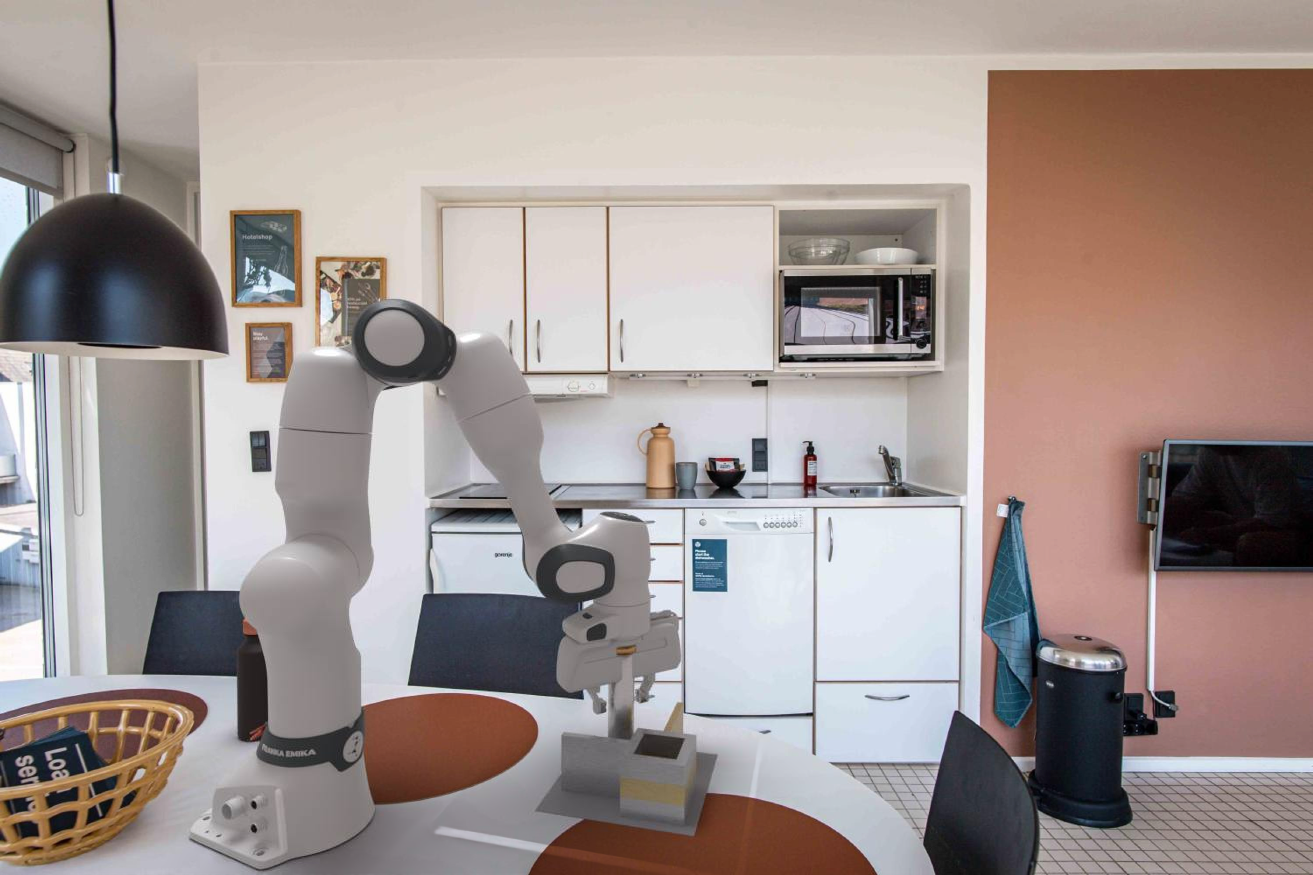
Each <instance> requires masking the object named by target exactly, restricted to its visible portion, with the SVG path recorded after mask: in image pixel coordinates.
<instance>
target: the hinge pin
mask: <svg viewBox="0 0 1313 875" xmlns="http://www.w3.org/2000/svg"><path fill="white" fill-rule="evenodd" d="M635 652H636V645H631V646H626V647H621V648H616V655H619V656H622V679H621V681H619V682H615V683H611V684H607V685H608V690H607V691H608V692H607V693H608V694H607V696H608V697H607V698H608V699H607V700H608V702H607V737H608V738H616V739H624V740H631V738H632V737H633V735H634V733H635V678H633V677H632V654H633V653H635Z"/></svg>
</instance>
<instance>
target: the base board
mask: <svg viewBox="0 0 1313 875" xmlns="http://www.w3.org/2000/svg"><path fill="white" fill-rule="evenodd" d="M717 758H718V754H717V753H716V754H715V753H707V752H700V751H696V791H695V794H694V797H693V801H692V804H691V807H690V810H689V813H688V816H687V820H686V823H685V826H677V825H671V824H665V823H658V822H652V821H646V820H639V819H633V818H626V817H620V799H618V798H611V797H604V796H598V795H591V794H584V793H578V792H571V791H564V790H561V774H560V775H559V776H558V778H557V779H556V780H555V782H554V783H553V785H552V786H551V787H550V789H549V790H548V792H546V795H545V796H544V797H543V799H542V800H541V802H539V804H538V806H537V807H536V809H534V811H535V812H539V813H543V814H544V813H545V814H551V815H552V814H553V815H557V816H563V817H564V816H565V817H568V818H569V817H570V818H577V819H582V820H589V821H595V822H601V823H606V824H607V823H608V824H614V825H620V826H626V827H627V826H628V827H632V828H640V829H645V830H646V829H647V830H653V831H657V832H663V833H664V832H665V833H669V834H678V835H683V836H687V837H688V836H689V837H695V834H696V831H697V828H698V825H699V821H700V817H701V813H702V812H703V811H702V809H703V807H704V803H705V801H706V797H707V792H708V790H709V786H710V783H711V782H710V781H711V780H712V779H711V778H712V775H713V771H714V768H715V764H716V762H717Z"/></svg>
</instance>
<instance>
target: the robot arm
mask: <svg viewBox="0 0 1313 875" xmlns="http://www.w3.org/2000/svg"><path fill="white" fill-rule="evenodd" d="M350 338H351V340H350V341H351V342H349V343H348V344H346V345H343V346H334V345H333V346H332V345H320V346H315V347H311V348H308V349H305V350H304V351H301V352H300V353H299V354H297V356H295V358H294V359H293V361H292V364H291V367H290V371H289V373H288V377H287V380H286V385H285V387H284V393H283V397H282V400H281V401H282V403H281V408H280V409H281V410H280V414H279V423H278V424H279V425H278V437H277V438H278V439H277V449H276V451H277V452H276V462H275V465H276V466H275V476H274V487H275V492H276V493H277V495H278V497H279V499H280V501H281V502H280V503H281V506H282V510H283V515H284V521H285V524H284V525H285V532H286V533H285V541H284V544H281V545H280V546H277V547H275V548H273V549H271V550H270V551H268V552H267V553H266V554H264V555H263V556H262V557H260V559H259V560H258V561H257V563H255V565H254V566H253V567H252V568H251V569H250V571H249V572H248V573H247V574H246V576H245V578H244V579H243V581H242V582H241V585H240V589H239V595H238V600H239V601H238V602H239V607H240V611H241V613H242V615H243V617H244V619H246V620H247V621H248V623H249V624H250V625H251V626H253V627H254V628H255V629H256V630H257V633H258V636H259V640H260V643H261V646H262V650H263V654H264V657H265V662H266V668H267V679H268V721H267V722H265V725H263V726H261V727H260V728H258V729H256V730H254V731H252V732H251V733H250V734H253V733H255V732H257V731H258V733H256V734H255V735H254V736H253V737H252V738H251V739H250V740H251V741H250V742H253V741H252V740H254V739H256V738H257V737H259V736H261V735H262V737H261V740H259V743H258V745H257V748H256V750H255V751H254V752H253V753H251V754H249V755H248V756H247V757H246V758H245V759H243V760H242V761H241V762H239V764H237V765H236V766H235V767H233V768H232V769H231V770H230V771H228V772H227V773H226V774H225V775H223V777H222V778H221V779H220V781H219V782H218V784H217V785H216V788H215V790H214V793H213V799H212V806H211V807H210V808H209V809H208V810H206V811H205V812H204V813H203V814H202V815H200V817H198V819H197V820H196V821H195V822H194V823H193V824H192V826H191V828H190V830H189V838H190V839H191V840H193V841H195V842H197V843H199V844H201V845H204V846H206V847H208V848H210V849H212V850H214V851H217V852H220V853H222V854H224V855H225V856H228V857H231V858H233V859H234V860H237V861H239V862H241V863H244V864H245V865H247V866H250V867H253V868H254V869H258V870H265V869H269V868H271V867H274V866H277V865H279V864H282V863H284V862H286V861H289V860H291V859H296V858H301V857H304V856H309V855H310V856H311V855H313V854H317V853H321V852H323V851H327V850H329V849H332V848H334V847H336V846H339V845H341V844H343V843H345V842H347V841H348V840H350V839H351V838H353V837H355V836H356V835H357V834H359V833H360V832H361V831H362V830H364V829H365V828H366V827H367V826H368V824H369V823H370V822H371V820H372V819H373V817H374V815H375V811H376V806H375V803H374V800H373V796H372V794H371V790H370V786H369V781H368V776H367V771H366V763H365V762H366V761H365V757H364V746H365V740H366V717H365V710H364V707H362V655H361V652H360V650H359V649H358V648H357V645H356V643H355V639H354V635H353V630H352V626H351V620H350V607H351V606H350V605H351V603H352V602H351V601H352V598H353V597H354V596H356V595H357V594H358V593H359V592H361V590H362V589H363V588H364V586H365V585H366V584H367V582H368V580H369V578H370V576H371V573H372V571H373V567H374V566H373V565H374V560H375V554H374V549H373V546H372V531H371V529H372V527H371V516H370V506H369V478H370V475H369V474H370V463H371V450H372V440H373V439H372V438H373V437H372V436H373V434H372V433H373V427H374V426H373V423H374V412H375V406H376V402H377V399H378V397H379V395H380V393H381V392H382V391H386V390H387V391H388V390H392V389H397V388H403V387H409V386H410V387H411V386H415V385H418V384H420V383H429V384H432V385H434V386H435V387H437V388H438V389H439V390H440V391H441V392H442V393H443V395H444V396H445V398H446V400H447V402H448V403H449V405H450V408H451V410H452V412H453V414H454V417H455V419H456V422H457V423H458V426H459V428H460V430H461V432H462V434H463V436H464V438H465V440H466V442H467V443H468V445H469V447H470V448H471V450H472V451H473V453H474V454H475V456H476V458H478V460H479V461H480V463H481V464H482V466H484V468H485V469H487V471H488V472H489V473H490V474H492V476H493V478H495V479H496V481H497V482H498V483H499V485H500V487H501V488H502V490H503V492H504V495H505V497H506V499H507V502H508V503H509V506H510V508H511V511H512V513H513V515H514V517H515V520H516V523H517V524H518V527H519V530H520V534H521V537H522V550H521V551H522V552H521V561H522V567H523V568H524V569H523V570H524V572H525V573H526V576H528V578H529V579H530V580H531V581H532V582H533V583H534V585H535V587H536V588H537V590H538V591H539V593H541V595H542V597H544V598H545V599H546V600H547V601H549V602H551V603H553V604H556V605H560V606H573V605H576V604H581V603H582V604H583V603H585V602H589V601H592V603H591V604H590V605H588V606H586V607H584V608H583V609H581V610H579V611H577V612H575V613H573V614H571V615H568V616H567V617H565V618H564V619H563V621H562V631H563V632H564V633H565V634H566V635H565V636H563V637H562V639H561V640H560V643H559V646H558V650H557V659H556V660H557V661H556V681H557V683H558V685H560V686H559V687H561V688H562V689H563V690H564V691H566V692H568V693H569V694H570V693H575V692H579V691H586V692H587V694H588V695H589V697H590V698H591V700H592V711H593V712H594V714H595V715H601V714H604V713H607V712H608V708H607V707H608V702H607V700H605V699H604V698H603V697H599V695H598V694H600V692H601V687H602V686H606V685H608V684H611V683H615V682H619V681H621V679H622V656H619V655H616V648H621V647H626V646H631V645H636V652H635V653H633V654H632V677H633V678H634V679H636V678H643V679H642V681H641V684H640V686H639V687H638V688H636V689H635V688H634V700H635V701H636V702H637V703H638V704H639V705H641V704H644V703H648V702H649V699H650V698H649V697H650V694H649V693H650V691H651V690H652V687H653V686H654V683H655V681H656V674H659V673H662V672H667V671H671V670H676V669H677V668H679V666H680V664H681V662H682V652H681V651H682V648H681V639H680V634H679V629H680V619H679V616H678V615H677V613H675V612H673V611H672V610H670V609H664V610H661V611H651V606H652V605H651V602H652V601H651V600H652V599H651V598H652V597H651V592H650V589H649V579H650V574H651V571H652V570H651V569H652V565H651V563H652V561H651V560H652V558H651V557H652V556H651V542H650V534H649V529H648V525H647V523H645V522H644V521H643V519H641V518H639V517H638V516H636V515H633V514H628V513H623V512H619V511H603V512H600V513H598V515H597V516H596V517H595V518H593V519H592V520H591V521H589V522H588V523H586V524H585V525H583V526H581V527H579V528H578V529H576V530H571V529H570V528H569V527H568V526H567V525H566V524H564V522H563V521H562V520H561V518H560V517H559V515H558V513H557V510H556V508H555V505H554V503H553V500H552V497H551V496H550V493H549V490H548V488H547V486H546V483H545V481H544V478H543V475H542V471H541V470H542V469H541V462H540V461H541V460H540V459H541V452H542V449H543V448H542V447H543V445H544V441H545V440H544V439H545V435H544V430H543V425H542V421H541V417H540V413H539V410H538V407H537V404H536V401H535V399H534V396H533V394H532V393H531V392H532V391H531V389H530V387H529V385H528V383H527V380H526V378H525V377H524V375H523V373H522V370H520V367H519V365H518V364H517V361H516V360H515V359H514V357H513V355H512V353H511V352H510V351H509V349H508V348H507V346H506V345H505V343H504V342H503V340H502V339H501V338H500V337H499V336H498V335H496V334H495V333H493V332H490V331H487V330H470V331H466V332H462V333H460V334H455V332H454V330H452V329H451V328H450V327H449V326H447V325H446V324H444V323H443V322H442V321H440V320H439V319H438V318H437V317H436V316H435V315H434V314H432V313H431V312H430V311H428V310H426V308H424V307H423V306H421V305H419V304H417V303H415V302H413V301H410V300H406V299H402V298H401V299H400V298H388V299H382V300H378V301H376V302H374V303H372V304H370V305H368V306H367V307H366V308H364V309H363V311H361V312H360V314H359V315H358V316H357V318H356V320H355V321H354V324H353V327H352V329H351V337H350Z"/></svg>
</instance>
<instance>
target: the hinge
mask: <svg viewBox="0 0 1313 875" xmlns="http://www.w3.org/2000/svg"><path fill="white" fill-rule="evenodd" d="M560 737H561V738H560V740H561V743H560V745H561V749H560V751H561V755H560V756H561V757H560V758H561V761H560V762H561V764H560V765H561V766H560V772H561V773H560V775H561V790H564V791H571V792H578V793H584V794H591V795H598V796H604V797H611V798H618V799H620V817H626V818H633V819H639V820H646V821H652V822H658V823H665V824H671V825H677V826H685V823H686V820H687V816H688V813H689V810H690V807H691V804H692V801H693V797H694V794H695V791H696V752H697V734H691V733H684V702H681V701H679V702H678V701H677V702H676V703H675V706H674V708H673V710H672V712H671V714H670V716H669V718H668V721H667V722H666V724H665V727H664V729H663V730H660V729H659V730H658V729H652V728H651V729H649V728H642V727H637V728H636V730H634V735H633V737H632V738H631V740H624V739H616V738H608V736H598V735H592V734H583V733H575V732H568V731H563V732H562V734H561V736H560Z"/></svg>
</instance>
